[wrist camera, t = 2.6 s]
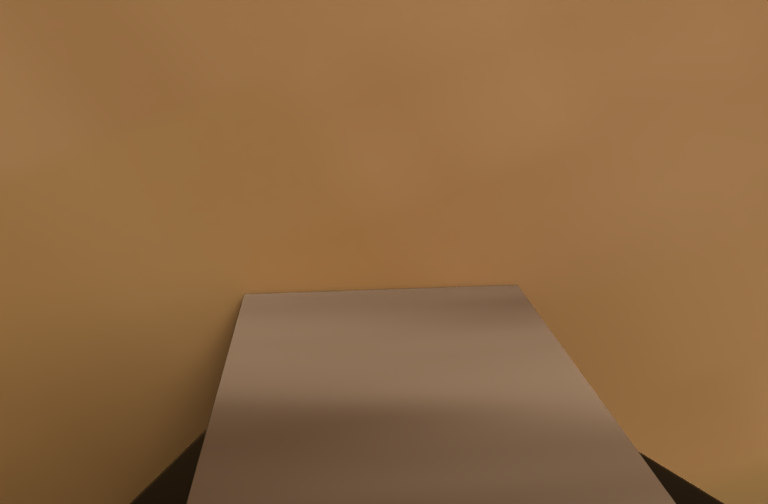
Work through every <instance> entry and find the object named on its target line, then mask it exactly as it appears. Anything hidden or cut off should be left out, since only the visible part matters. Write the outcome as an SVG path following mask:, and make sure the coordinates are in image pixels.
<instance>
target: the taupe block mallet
mask: <svg viewBox="0 0 768 504" xmlns="http://www.w3.org/2000/svg"><path fill="white" fill-rule="evenodd" d="M187 504H676V503H675V502H674V500H673V499H672V498H671V496H670V495H669V493H668V492H667V491H666V489H665V488H664V487H663V485H662V484H661V482H660V481H659V480H658V478H657V477H656V476H655V474H654V473H653V471H652V470H651V469H650V467H649V466H648V465H647V463H646V462H645V460H644V459H643V458H642V456H641V455H640V453H639V452H638V451H637V449H636V448H635V447H634V445H633V444H632V442H631V441H630V440H629V438H628V437H627V436H626V434H625V433H624V431H623V430H622V429H621V427H620V426H619V424H618V423H617V422H616V420H615V419H614V418H613V416H612V415H611V413H610V412H609V411H608V409H607V408H606V407H605V405H604V404H603V402H602V401H601V400H600V398H599V397H598V396H597V394H596V393H595V391H594V390H593V389H592V387H591V386H590V384H589V383H588V382H587V380H586V379H585V378H584V376H583V375H582V373H581V372H580V371H579V369H578V368H577V367H576V365H575V364H574V362H573V361H572V360H571V358H570V357H569V355H568V354H567V353H566V351H565V350H564V349H563V347H562V346H561V344H560V343H559V342H558V340H557V339H556V338H555V336H554V335H553V333H552V332H551V331H550V329H549V328H548V327H547V325H546V324H545V322H544V321H543V320H542V318H541V317H540V315H539V314H538V313H537V311H536V310H535V309H534V307H533V306H532V304H531V303H530V302H529V300H528V299H527V298H526V296H525V295H524V293H523V292H522V291H521V289H520V288H519V286H518V285H501V286H472V287H443V288H414V289H385V290H355V291H326V292H297V293H268V294H244V297H243V301H242V304H241V308H240V312H239V315H238V319H237V323H236V326H235V330H234V333H233V337H232V341H231V344H230V348H229V352H228V355H227V359H226V363H225V366H224V370H223V373H222V377H221V381H220V384H219V388H218V392H217V395H216V399H215V402H214V406H213V410H212V413H211V417H210V421H209V424H208V428H207V432H206V435H205V439H204V442H203V446H202V450H201V453H200V457H199V461H198V464H197V468H196V472H195V475H194V479H193V482H192V486H191V490H190V493H189V497H188V501H187Z"/></svg>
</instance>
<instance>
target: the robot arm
mask: <svg viewBox="0 0 768 504" xmlns="http://www.w3.org/2000/svg"><path fill="white" fill-rule="evenodd" d="M206 432H207V430H205V431H204V432H203V433H202V434H201V435H200V436H199V437H198V438H197V439H196V440H195V441H194V442H193V443H192V444H191V445H190V446H189V447H188V448H187V449H186V450H185V451H184V452H183V453H182V454H181V455H180V456H179V457H178V458H176V459H175V460H174V461H173V462H172V463H171V464H170V465H169V466H168V467H167V468H166V469H165V470H164V471H163V472H162V473H161V474H160V475H159V476H158V477H157V478H156V479H155V480H154V481H153V482H152V483H151V484H150V485H149V486H148V487H146V488H145V489H144V490H143V491H142V492H141V493H140V494H139V495H138V496H137V497H136V498H135V499H134V500H133V501H132V502H131V503H130V504H187V501H188V497H189V493H190V490H191V486H192V482H193V479H194V475H195V472H196V468H197V464H198V461H199V457H200V453H201V450H202V446H203V442H204V439H205V435H206ZM639 453H640V452H639ZM640 455H641V456H642V458H643V459H644V460H645V462H646V463H647V465H648V466H649V467H650V469H651V470H652V471H653V473H654V474H655V476H656V477H657V478H658V480H659V481H660V482H661V484H662V485H663V487H664V488H665V489H666V491H667V492H668V493H669V495H670V496H671V498H672V499H673V500H674V502H675V503H676V504H724V503H722V502H720V501H719V500H717V499H715V498H714V497H712V496H710V495H709V494H707V493H706V492H704V491H702V490H701V489H699V488H697V487H696V486H694V485H692V484H691V483H689V482H687V481H686V480H684V479H683V478H681V477H679V476H678V475H676V474H674V473H673V472H671V471H669V470H668V469H666V468H665V467H663V466H661V465H660V464H658V463H656V462H655V461H653V460H651V459H650V458H648V457H646V456H645V455H643V454H642V453H640Z"/></svg>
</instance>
